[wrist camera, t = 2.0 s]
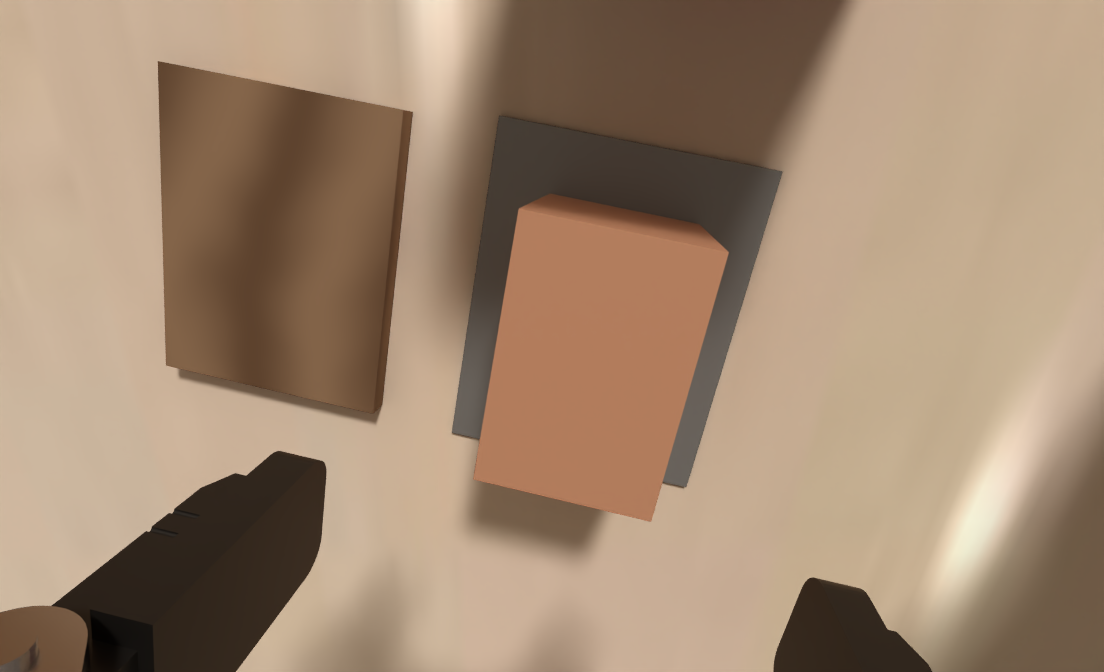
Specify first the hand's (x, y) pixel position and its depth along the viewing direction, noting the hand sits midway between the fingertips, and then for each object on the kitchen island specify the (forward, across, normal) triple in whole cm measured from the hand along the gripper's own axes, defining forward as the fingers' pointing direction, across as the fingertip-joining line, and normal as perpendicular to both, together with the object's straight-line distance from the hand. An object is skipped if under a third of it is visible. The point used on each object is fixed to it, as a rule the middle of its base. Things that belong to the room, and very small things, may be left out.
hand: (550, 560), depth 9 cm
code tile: (+16, 0, 0) cm, 16 cm away
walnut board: (+16, +14, 0) cm, 21 cm away
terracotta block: (+15, 0, 0) cm, 16 cm away
